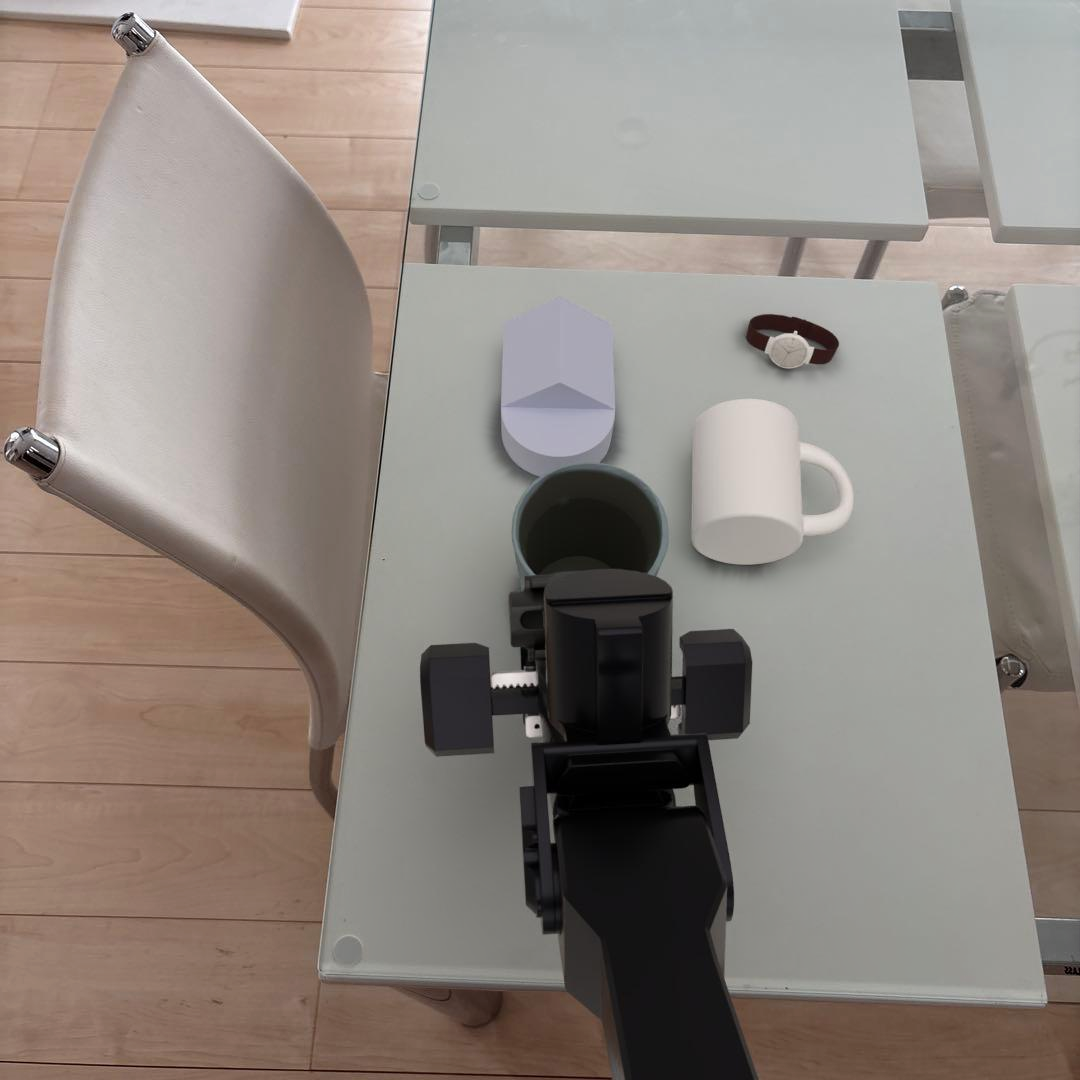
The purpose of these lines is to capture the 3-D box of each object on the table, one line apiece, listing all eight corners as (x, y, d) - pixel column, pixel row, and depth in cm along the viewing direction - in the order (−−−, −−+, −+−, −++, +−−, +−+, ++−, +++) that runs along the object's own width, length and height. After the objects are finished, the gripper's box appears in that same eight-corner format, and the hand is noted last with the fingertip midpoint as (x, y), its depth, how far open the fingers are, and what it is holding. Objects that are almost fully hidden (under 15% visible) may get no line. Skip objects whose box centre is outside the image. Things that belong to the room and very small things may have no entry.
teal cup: (576, 695, 68) (588, 632, 57) (482, 598, 71) (477, 522, 60) (674, 607, 71) (703, 532, 61) (580, 518, 74) (592, 433, 64)
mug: (683, 560, 73) (701, 510, 66) (685, 451, 78) (702, 392, 70) (840, 574, 73) (875, 525, 66) (833, 464, 77) (865, 406, 70)
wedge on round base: (504, 348, 82) (499, 478, 76) (503, 294, 76) (498, 430, 70) (608, 350, 82) (612, 480, 76) (616, 296, 76) (621, 433, 70)
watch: (738, 358, 82) (747, 331, 79) (749, 318, 84) (758, 289, 81) (827, 381, 81) (840, 354, 78) (836, 340, 83) (849, 312, 80)
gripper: (792, 600, 46) (714, 511, 61) (404, 620, 45) (421, 525, 60) (781, 800, 50) (710, 669, 64) (420, 823, 49) (433, 685, 63)
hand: (571, 635), depth 63 cm, fingers closed
